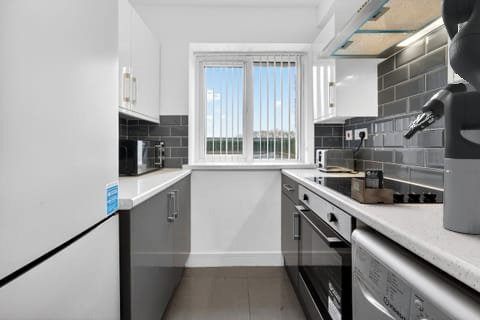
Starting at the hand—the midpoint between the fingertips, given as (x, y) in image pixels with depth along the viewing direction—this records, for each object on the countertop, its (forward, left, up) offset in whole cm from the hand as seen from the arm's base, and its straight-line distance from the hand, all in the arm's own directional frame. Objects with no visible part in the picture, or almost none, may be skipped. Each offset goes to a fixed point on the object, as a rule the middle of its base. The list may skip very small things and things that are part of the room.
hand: (405, 137), depth 115 cm
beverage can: (+9, +7, -24) cm, 27 cm away
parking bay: (+10, +7, -24) cm, 27 cm away
